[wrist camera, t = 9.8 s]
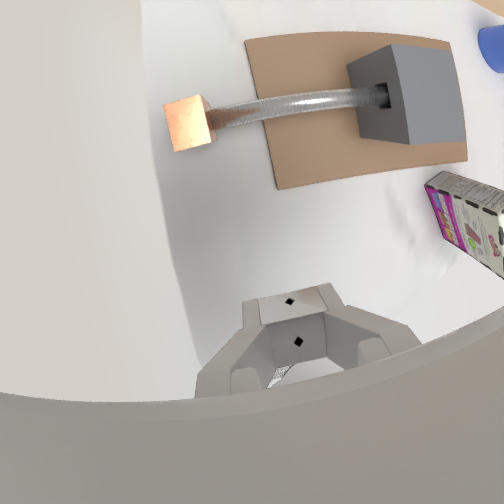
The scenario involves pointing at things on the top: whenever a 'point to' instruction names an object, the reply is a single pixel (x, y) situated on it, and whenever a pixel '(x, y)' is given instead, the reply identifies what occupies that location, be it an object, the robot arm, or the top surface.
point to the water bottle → (493, 46)
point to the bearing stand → (359, 118)
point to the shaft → (257, 111)
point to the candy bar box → (470, 217)
